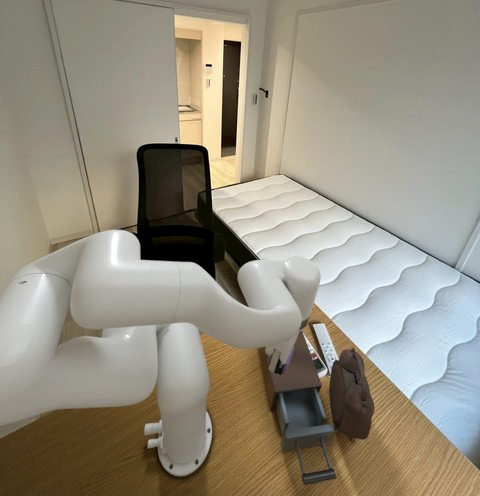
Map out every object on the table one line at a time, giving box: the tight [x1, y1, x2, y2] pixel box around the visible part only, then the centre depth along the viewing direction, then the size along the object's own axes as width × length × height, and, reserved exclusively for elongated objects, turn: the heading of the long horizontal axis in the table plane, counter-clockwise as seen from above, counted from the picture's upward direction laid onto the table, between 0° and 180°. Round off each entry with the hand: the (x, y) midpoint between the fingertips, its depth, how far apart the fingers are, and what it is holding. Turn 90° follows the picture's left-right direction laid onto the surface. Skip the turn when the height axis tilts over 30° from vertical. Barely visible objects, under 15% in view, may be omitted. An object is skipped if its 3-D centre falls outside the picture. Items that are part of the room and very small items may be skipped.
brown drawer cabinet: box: [258, 330, 323, 410], centre depth 70 cm, size 15×13×9 cm
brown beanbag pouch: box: [328, 347, 376, 441], centre depth 60 cm, size 15×7×20 cm, turn 168°
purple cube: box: [268, 347, 294, 375], centre depth 58 cm, size 4×4×4 cm
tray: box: [275, 388, 337, 486], centre depth 59 cm, size 20×11×7 cm, turn 8°
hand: (279, 359), depth 59 cm, fingers closed on purple cube, 4 cm apart
